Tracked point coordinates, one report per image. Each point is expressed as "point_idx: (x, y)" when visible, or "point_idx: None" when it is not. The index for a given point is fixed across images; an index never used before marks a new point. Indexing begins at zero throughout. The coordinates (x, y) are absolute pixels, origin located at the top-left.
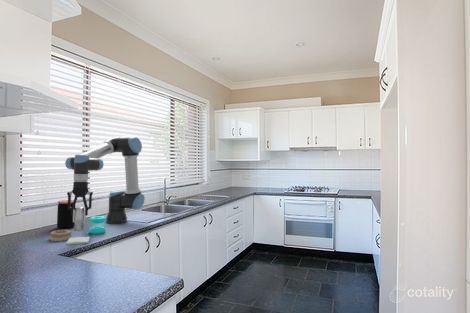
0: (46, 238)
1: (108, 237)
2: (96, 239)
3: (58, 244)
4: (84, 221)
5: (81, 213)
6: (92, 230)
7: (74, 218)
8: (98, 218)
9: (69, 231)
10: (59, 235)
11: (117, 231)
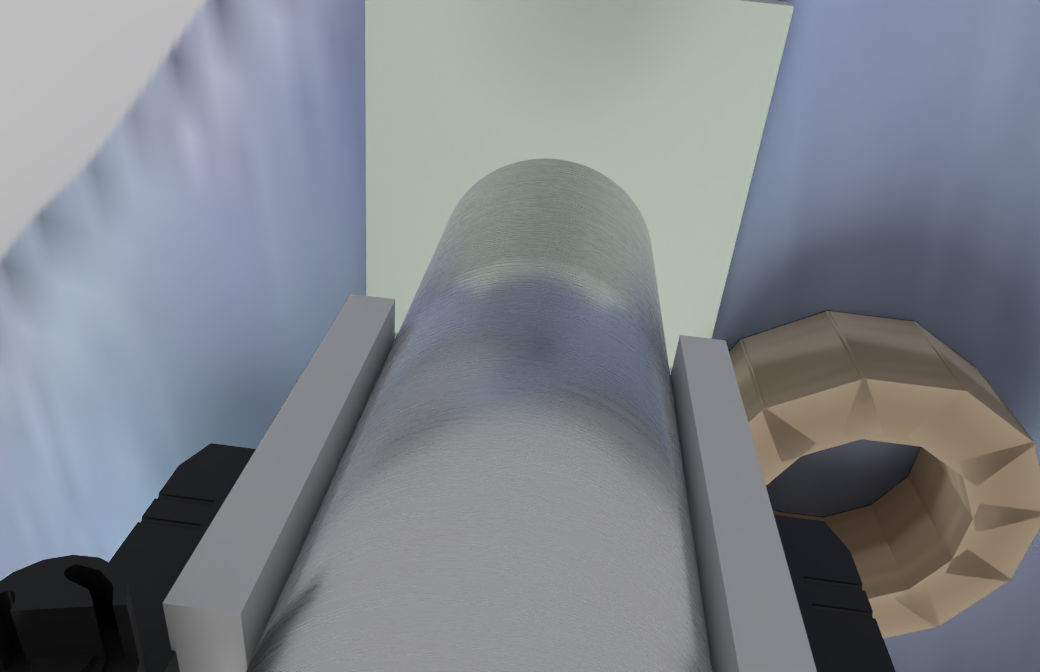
0: None
1: (75, 273)
2: (256, 208)
3: (919, 76)
4: (359, 299)
5: (393, 462)
6: None
7: (687, 422)
8: None
9: None
10: (901, 368)
11: (26, 560)
